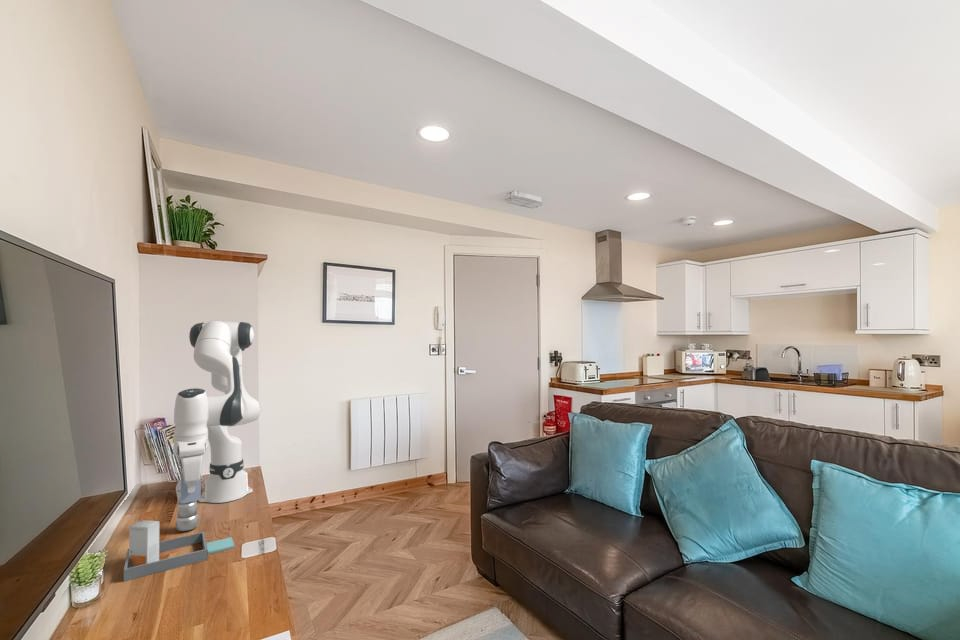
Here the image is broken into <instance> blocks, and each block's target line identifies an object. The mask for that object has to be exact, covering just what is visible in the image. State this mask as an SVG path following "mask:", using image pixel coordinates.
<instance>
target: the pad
mask: <svg viewBox="0 0 960 640" xmlns="http://www.w3.org/2000/svg"><path fill="white" fill-rule="evenodd" d="M206 545H207V555H211V554H215V553H219V552H223V551H227V550H230V549H234V548H235V543H234V540H233V537H232V536H229V537H226V538H222V539H217V540H214V541H210V542H209V541H208V542H206Z"/></svg>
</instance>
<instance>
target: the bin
mask: <svg viewBox="0 0 960 640" xmlns="http://www.w3.org/2000/svg"><path fill="white" fill-rule="evenodd" d="M206 543H207V539H206V534H205V531H200V532H196V533H192V534H188V535H187V534H186V535H183V536H179V537H174V538H171V539H165V540H161V541H160V540H159V553H162V552H168V551H171V550H175V549H179V548H183V547H188V546H191V545H197V544H201V545H202V549H201V550H195V551H192V552H189V553H184V554H180V555H176V556H173V557H167V558H163V559H159V561H155V562H151V563H147V564H143V565H139V566H135V567H131V568H129V548H127V552H126V556H125V562H124V568H123V582H126V581H130V580H134V579H138V578H142V577H146V576H151V575H154V574H158V573H162V572H165V571H171V570H173V569H177V568H180V567H184V566H189V565H192V564H196V563H200V562H203V561H208V551H207V545H206Z"/></svg>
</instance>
